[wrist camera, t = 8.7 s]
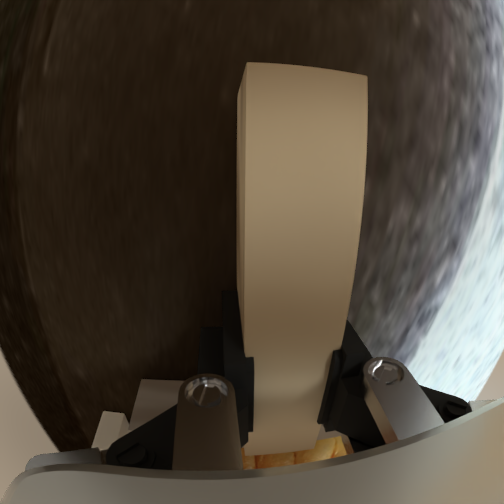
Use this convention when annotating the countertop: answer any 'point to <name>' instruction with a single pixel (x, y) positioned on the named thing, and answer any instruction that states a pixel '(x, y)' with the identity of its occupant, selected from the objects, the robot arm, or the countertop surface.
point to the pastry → (296, 455)
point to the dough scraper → (291, 244)
